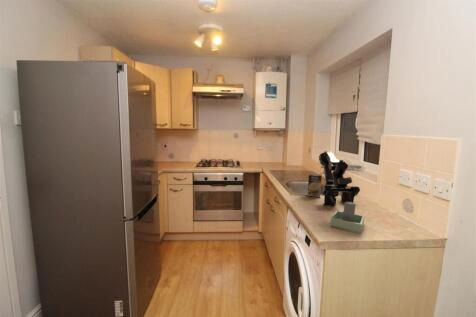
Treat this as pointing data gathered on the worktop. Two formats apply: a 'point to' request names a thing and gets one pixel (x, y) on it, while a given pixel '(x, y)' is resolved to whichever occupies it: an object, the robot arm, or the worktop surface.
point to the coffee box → (314, 185)
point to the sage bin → (347, 222)
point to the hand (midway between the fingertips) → (343, 203)
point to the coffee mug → (345, 196)
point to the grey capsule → (349, 211)
